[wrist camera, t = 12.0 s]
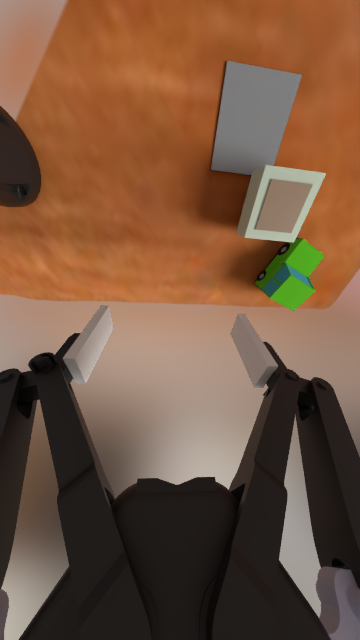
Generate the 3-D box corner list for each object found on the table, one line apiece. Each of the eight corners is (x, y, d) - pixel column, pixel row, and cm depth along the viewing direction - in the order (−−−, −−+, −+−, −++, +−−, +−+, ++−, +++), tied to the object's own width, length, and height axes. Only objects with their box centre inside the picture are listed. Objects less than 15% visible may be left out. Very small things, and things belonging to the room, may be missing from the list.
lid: (236, 233, 34) (244, 237, 30) (252, 170, 28) (266, 164, 24) (279, 238, 35) (294, 242, 31) (305, 177, 29) (327, 173, 25)
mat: (210, 169, 31) (210, 169, 31) (226, 62, 24) (227, 60, 24) (269, 177, 32) (269, 177, 32) (300, 76, 25) (302, 74, 25)
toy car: (314, 252, 41) (349, 264, 33) (275, 294, 48) (296, 312, 40) (287, 232, 38) (318, 239, 30) (249, 279, 45) (266, 296, 37)
